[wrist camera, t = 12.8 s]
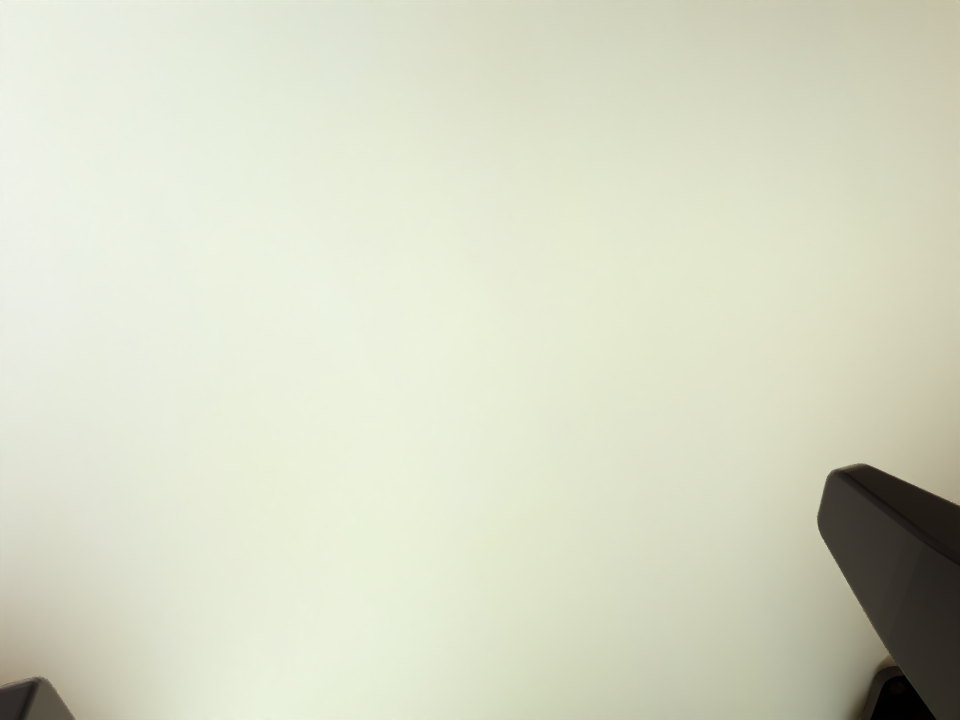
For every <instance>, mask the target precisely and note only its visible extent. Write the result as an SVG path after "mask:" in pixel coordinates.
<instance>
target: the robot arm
mask: <svg viewBox="0 0 960 720" xmlns="http://www.w3.org/2000/svg"><path fill="white" fill-rule="evenodd" d="M817 522H818V528H819V531H820V534H821V536H822V538H823V540H824V542H825V543H826V545H827V547H828V549H829V550H830V552H831V554H832V556H833V557H834V559H835V561H836V563H837V564H838V566H839V568H840V570H841V571H842V573H843V575H844V577H845V578H846V580H847V582H848V584H849V585H850V587H851V589H852V591H853V592H854V594H855V596H856V598H857V599H858V601H859V603H860V605H861V606H862V608H863V610H864V612H865V613H866V615H867V617H868V619H869V620H870V622H871V624H872V626H873V627H874V629H875V631H876V632H877V634H878V636H879V637H880V639H881V640H882V642H883V644H884V645H885V647H886V648H887V650H888V651H889V653H890V654H891V656H892V657H893V659H894V660H895V662H896V663H897V665H898V666H892V667H887V668H885V669H883V670H881V671H880V672H879V673H878V674H877V676H876V677H875V680H874V683H873V686H872V688H871V691H870V694H869V697H868V700H867V703H866V706H865V708H864V711H863V714H862V717H861V720H960V506H959V505H957V504H955V503H952V502H950V501H948V500H946V499H943V498H941V497H939V496H937V495H935V494H932V493H930V492H928V491H926V490H923V489H921V488H919V487H917V486H915V485H912V484H910V483H908V482H906V481H903V480H901V479H899V478H897V477H895V476H892V475H890V474H888V473H886V472H883V471H881V470H879V469H877V468H874V467H872V466H870V465H867V464H854V465H850V466H846V467H842V468H838V469H835V470H833V471H831V472H830V473H829V475H828V476H827V479H826V482H825V487H824V491H823V495H822V499H821V503H820V507H819V511H818V516H817ZM895 682H896V683H895ZM894 683H895V684H894ZM892 684H893V685H892ZM0 720H75V718H74V716H73V715H72V713H71V712H70V710H69V709H68V707H67V706H66V704H65V703H64V702H63V700H62V699H61V697H60V696H59V694H58V693H57V691H56V690H55V688H54V687H53V685H52V684H51V683H50V682H49V680H48V679H46V678H44V677H41V676H39V677H32V678H29V679H25V680H21V681H17V682H13V683H9V684H6V685H4V686H1V687H0Z"/></svg>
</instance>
